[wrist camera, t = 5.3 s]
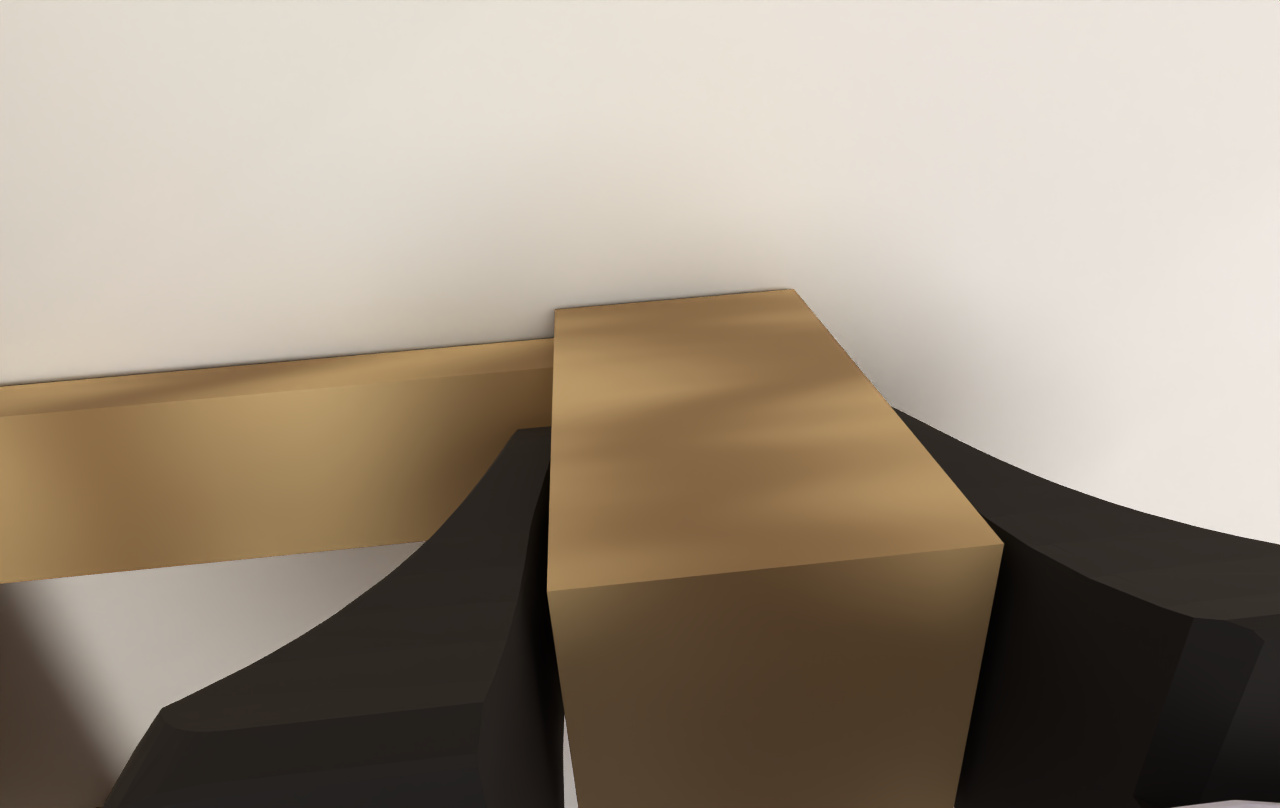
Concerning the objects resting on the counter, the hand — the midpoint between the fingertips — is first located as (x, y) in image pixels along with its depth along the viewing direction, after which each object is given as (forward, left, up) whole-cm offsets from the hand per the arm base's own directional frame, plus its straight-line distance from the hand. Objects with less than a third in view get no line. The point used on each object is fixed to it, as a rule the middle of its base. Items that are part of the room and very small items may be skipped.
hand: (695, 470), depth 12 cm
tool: (+7, 0, -2) cm, 7 cm away
